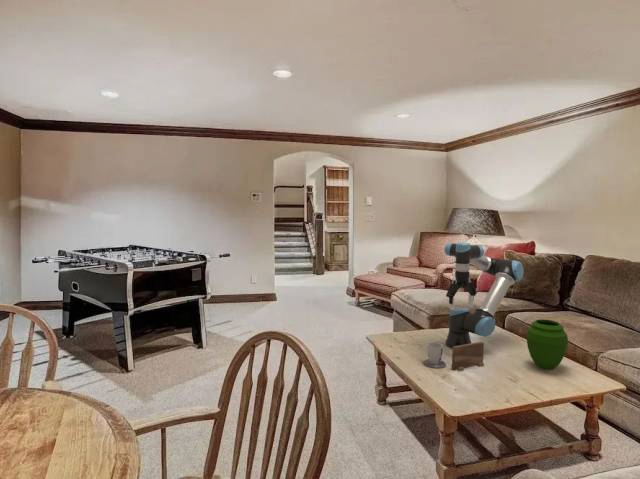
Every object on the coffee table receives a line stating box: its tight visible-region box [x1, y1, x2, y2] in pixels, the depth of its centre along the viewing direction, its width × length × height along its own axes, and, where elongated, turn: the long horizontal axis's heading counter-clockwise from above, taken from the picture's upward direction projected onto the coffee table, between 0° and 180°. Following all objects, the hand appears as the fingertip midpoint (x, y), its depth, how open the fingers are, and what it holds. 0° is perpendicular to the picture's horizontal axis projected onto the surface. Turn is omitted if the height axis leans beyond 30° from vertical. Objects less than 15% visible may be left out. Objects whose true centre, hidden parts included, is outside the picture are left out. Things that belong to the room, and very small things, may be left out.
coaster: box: [422, 358, 447, 370], centre depth 220 cm, size 12×12×1 cm
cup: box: [426, 342, 444, 365], centre depth 220 cm, size 8×8×10 cm
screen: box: [450, 341, 485, 372], centre depth 216 cm, size 6×20×12 cm, turn 114°
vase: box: [525, 319, 569, 371], centre depth 214 cm, size 20×20×24 cm
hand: (461, 308), depth 226 cm, fingers open, 13 cm apart
